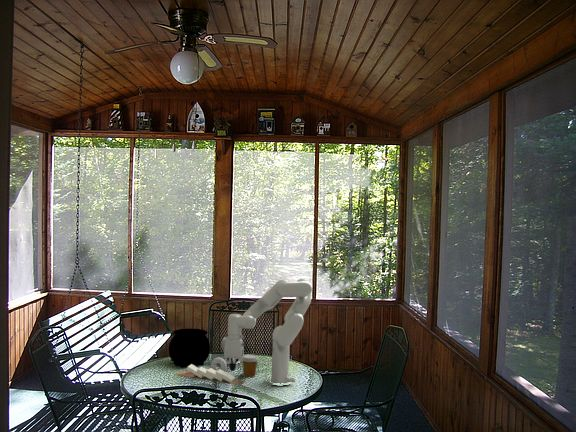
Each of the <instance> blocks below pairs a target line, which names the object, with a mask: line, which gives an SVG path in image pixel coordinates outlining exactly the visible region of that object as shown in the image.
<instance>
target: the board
mask: <svg viewBox="0 0 576 432" xmlns="http://www.w3.org/2000/svg"><path fill="white" fill-rule="evenodd" d="M190 379H195V380H201V381H209V382H215V383H221V384H222V383H224V384H230V385H236V386H242V385H244V384H245V383H246V382H247V380H242V379H236V378H235V379H234V381H232V382H231V383H230V382H228V381H226V380H222V381H219V380H218V379H216V378H214V379H213V380H211V379H209V378H207V377H205V376H204V377H203V378H200V377H198V376H195V377H190Z"/></svg>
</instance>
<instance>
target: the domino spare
mask: <svg viewBox="0 0 576 432" xmlns="http://www.w3.org/2000/svg"><path fill="white" fill-rule="evenodd" d="M177 375H178V376H181V377H187V378H191V377H195V376H196V375H195V374H193V373H192V372H190V371H188V370H187V371H183V370H182V371H181V372H179V373H177Z"/></svg>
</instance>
